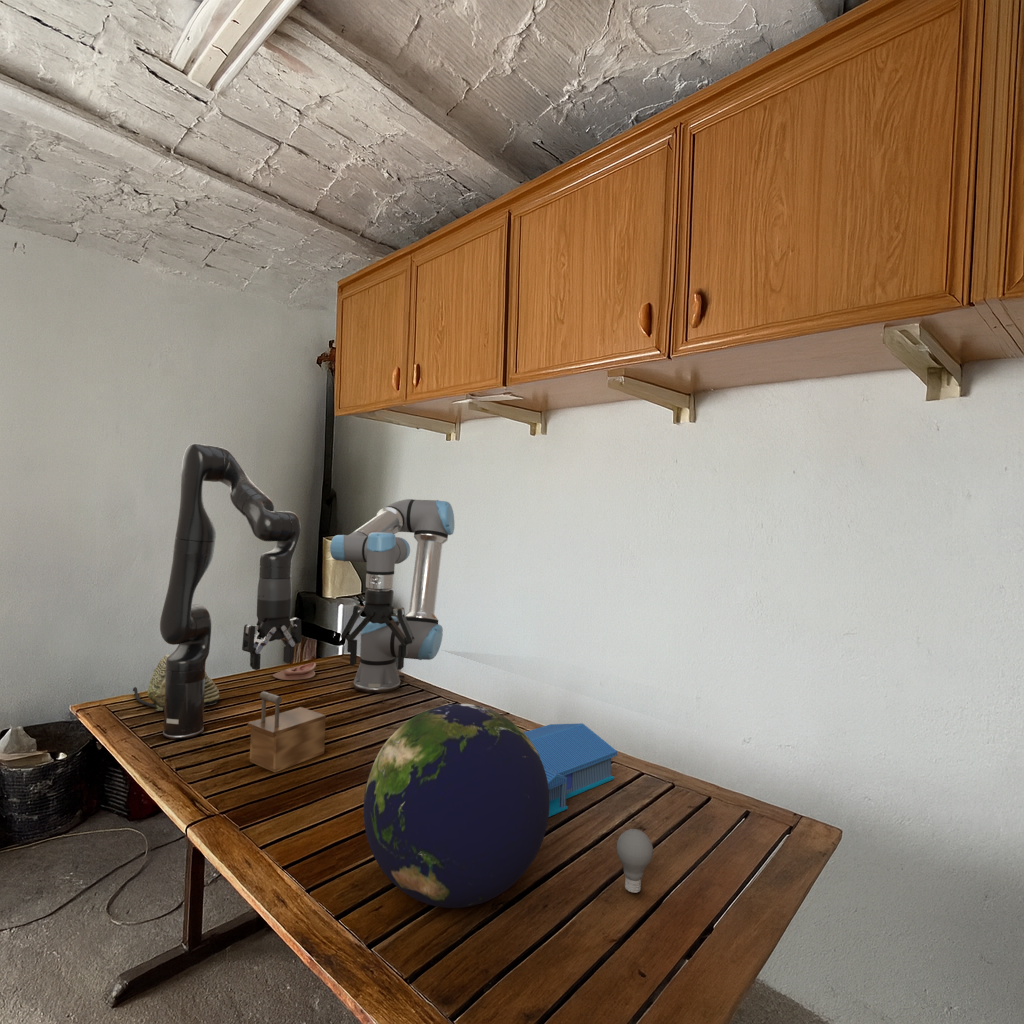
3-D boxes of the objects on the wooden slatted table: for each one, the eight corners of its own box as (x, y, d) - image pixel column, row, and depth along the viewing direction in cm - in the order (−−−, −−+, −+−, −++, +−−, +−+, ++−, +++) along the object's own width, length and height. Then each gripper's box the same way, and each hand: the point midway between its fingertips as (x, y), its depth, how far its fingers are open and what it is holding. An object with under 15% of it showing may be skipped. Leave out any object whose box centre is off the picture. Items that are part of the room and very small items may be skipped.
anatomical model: (267, 666, 215) (286, 658, 227) (267, 678, 215) (286, 669, 227) (303, 670, 213) (320, 662, 224) (303, 682, 213) (320, 673, 224)
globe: (319, 919, 95) (326, 721, 95) (420, 827, 123) (427, 673, 122) (502, 984, 84) (511, 760, 83) (568, 867, 112) (576, 698, 111)
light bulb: (610, 879, 108) (613, 822, 108) (644, 879, 109) (647, 822, 109) (619, 902, 102) (622, 840, 102) (655, 901, 103) (658, 840, 103)
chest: (274, 772, 144) (276, 735, 144) (249, 761, 149) (250, 725, 149) (324, 753, 156) (325, 718, 156) (299, 743, 161) (300, 710, 161)
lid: (272, 736, 143) (274, 701, 143) (247, 726, 149) (248, 692, 148) (325, 718, 156) (326, 686, 156) (300, 710, 161) (301, 678, 161)
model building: (497, 839, 120) (500, 786, 120) (424, 791, 138) (425, 745, 138) (625, 783, 146) (627, 740, 146) (549, 749, 164) (551, 711, 164)
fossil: (144, 707, 182) (145, 655, 182) (212, 696, 194) (213, 647, 194) (151, 716, 175) (153, 662, 175) (221, 703, 188) (223, 653, 188)
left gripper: (257, 602, 139) (254, 675, 140) (310, 595, 151) (307, 662, 152) (237, 597, 144) (234, 668, 144) (290, 591, 156) (287, 657, 156)
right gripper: (330, 588, 171) (327, 666, 172) (419, 594, 167) (416, 673, 168) (342, 584, 178) (339, 659, 179) (427, 590, 175) (424, 666, 175)
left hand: (272, 665), depth 148 cm, fingers open, 8 cm apart
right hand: (376, 666), depth 173 cm, fingers open, 13 cm apart
